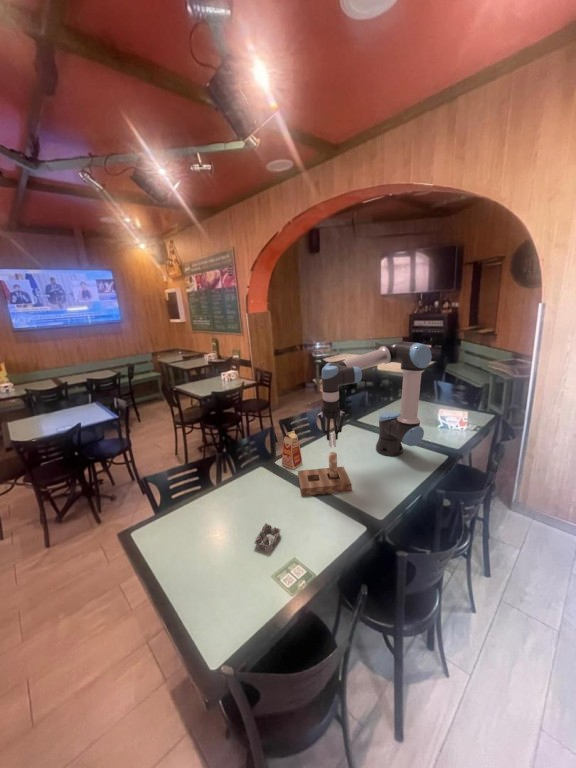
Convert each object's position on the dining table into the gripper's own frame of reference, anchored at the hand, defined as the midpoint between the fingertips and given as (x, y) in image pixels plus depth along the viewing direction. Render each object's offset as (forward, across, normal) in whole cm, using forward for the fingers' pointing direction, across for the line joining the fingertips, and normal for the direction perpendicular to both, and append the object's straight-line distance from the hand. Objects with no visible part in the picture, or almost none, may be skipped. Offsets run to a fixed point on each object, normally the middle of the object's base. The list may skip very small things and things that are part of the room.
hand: (332, 445), depth 150 cm
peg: (+20, 0, 0) cm, 20 cm away
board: (+20, +5, 0) cm, 21 cm away
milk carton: (+21, +19, -23) cm, 36 cm away
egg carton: (+21, +33, +34) cm, 52 cm away
